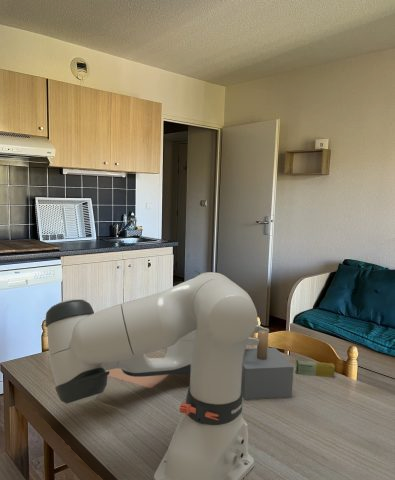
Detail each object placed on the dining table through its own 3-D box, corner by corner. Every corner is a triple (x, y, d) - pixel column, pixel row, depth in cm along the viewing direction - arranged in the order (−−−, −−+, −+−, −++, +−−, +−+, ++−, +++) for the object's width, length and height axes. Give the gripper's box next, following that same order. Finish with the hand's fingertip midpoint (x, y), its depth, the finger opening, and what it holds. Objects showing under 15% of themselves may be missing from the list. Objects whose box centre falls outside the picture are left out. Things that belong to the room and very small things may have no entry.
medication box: (295, 374, 127) (296, 363, 126) (294, 371, 130) (295, 359, 129) (334, 378, 125) (335, 366, 125) (332, 374, 128) (333, 362, 128)
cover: (244, 399, 109) (247, 340, 108) (231, 376, 123) (233, 324, 121) (291, 397, 112) (295, 339, 110) (273, 375, 126) (277, 323, 124)
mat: (151, 389, 113) (151, 388, 113) (101, 375, 121) (101, 373, 121) (180, 366, 129) (181, 365, 129) (135, 355, 137) (135, 354, 137)
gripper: (232, 328, 131) (272, 336, 125) (206, 348, 113) (252, 359, 107) (233, 310, 131) (273, 317, 125) (207, 327, 112) (253, 336, 106)
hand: (263, 337), depth 116 cm, fingers open, 8 cm apart
